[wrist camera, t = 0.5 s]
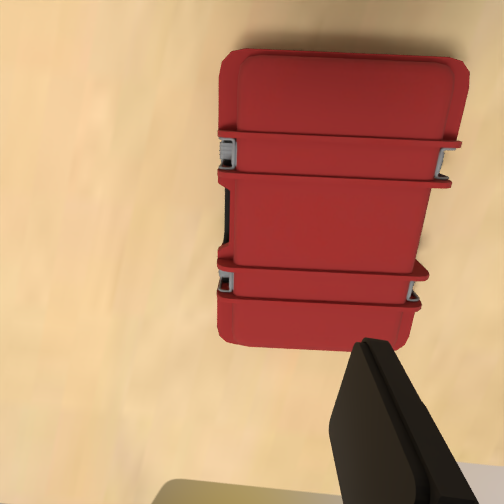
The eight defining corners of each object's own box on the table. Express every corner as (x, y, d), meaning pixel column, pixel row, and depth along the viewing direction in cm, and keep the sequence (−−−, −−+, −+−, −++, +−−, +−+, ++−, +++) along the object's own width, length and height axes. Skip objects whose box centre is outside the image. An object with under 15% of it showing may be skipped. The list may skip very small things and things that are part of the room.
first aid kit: (389, 324, 50) (413, 365, 42) (221, 315, 50) (213, 355, 42) (444, 65, 38) (492, 54, 30) (224, 56, 38) (214, 42, 30)
